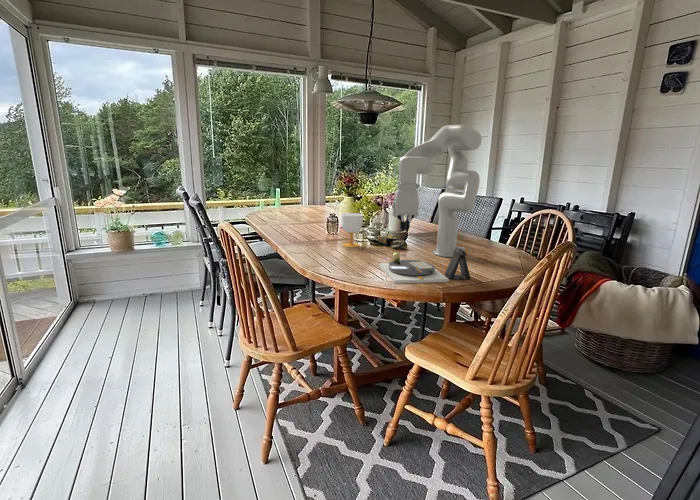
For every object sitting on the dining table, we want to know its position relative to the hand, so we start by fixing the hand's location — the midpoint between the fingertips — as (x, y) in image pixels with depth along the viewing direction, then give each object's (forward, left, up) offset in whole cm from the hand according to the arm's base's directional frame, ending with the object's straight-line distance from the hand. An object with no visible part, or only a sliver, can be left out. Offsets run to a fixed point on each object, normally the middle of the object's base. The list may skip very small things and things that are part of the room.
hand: (404, 230), depth 163 cm
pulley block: (-6, -47, -17) cm, 51 cm away
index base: (-2, +7, -17) cm, 18 cm away
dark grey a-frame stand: (-19, +15, -17) cm, 30 cm away
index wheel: (-2, +7, -15) cm, 17 cm away
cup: (+15, -45, -17) cm, 50 cm away
